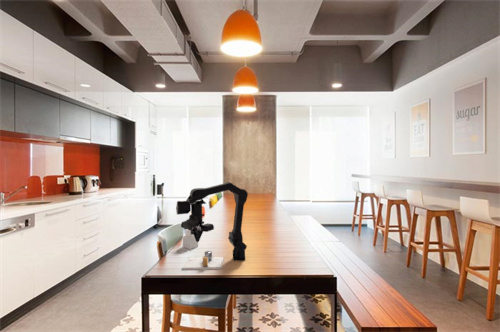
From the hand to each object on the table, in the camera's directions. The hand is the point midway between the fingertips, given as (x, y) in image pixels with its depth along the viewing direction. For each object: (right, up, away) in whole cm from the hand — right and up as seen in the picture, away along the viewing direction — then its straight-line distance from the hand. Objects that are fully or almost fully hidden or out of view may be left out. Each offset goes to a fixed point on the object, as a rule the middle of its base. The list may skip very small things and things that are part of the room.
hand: (197, 241), depth 150 cm
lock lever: (+5, -11, +2) cm, 13 cm away
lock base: (+3, -13, +3) cm, 13 cm away
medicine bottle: (-10, -12, +32) cm, 35 cm away
